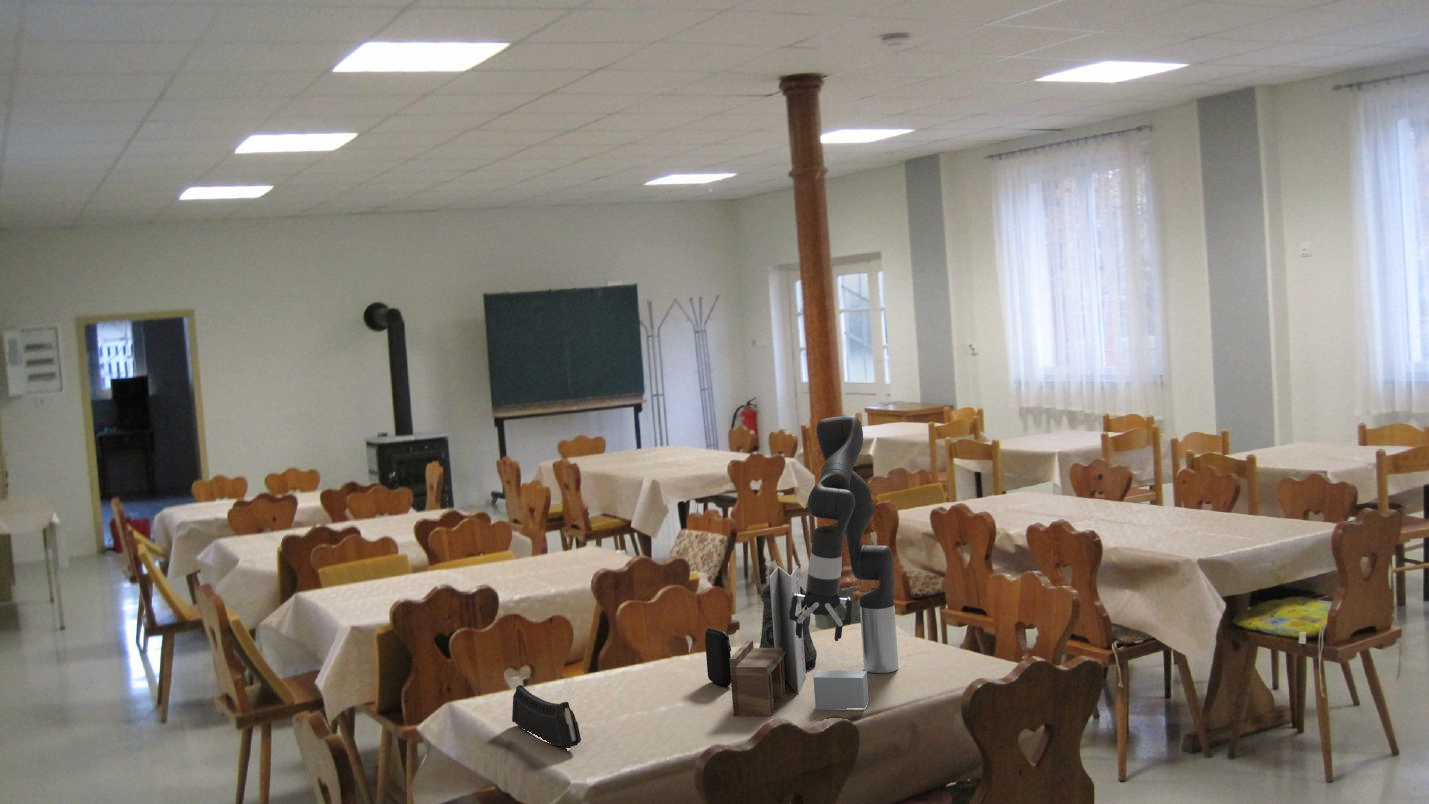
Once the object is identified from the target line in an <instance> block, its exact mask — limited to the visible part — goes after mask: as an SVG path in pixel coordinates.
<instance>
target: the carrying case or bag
mask: <svg viewBox="0 0 1429 804" xmlns="http://www.w3.org/2000/svg"><path fill="white" fill-rule="evenodd" d="M704 641H705V643H704V644H705V656H706V671H707V672H706V673H707V677H708V680H709V681H711V682H712V684H713V683H714V684H716V685H719V686H721V687H724V688H728V687H731V674H730V660H729V659H730V658H731V657H732V654H731V651H732V648H731V647H732V646H731V643H730V637H729V634H727V633H726V632H725V631H723V630H720V629H716V628H714V627H713V628H712V627H710V628H708V629H706V632H705V634H704Z"/></svg>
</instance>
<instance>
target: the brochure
mask: <svg viewBox="0 0 1429 804" xmlns="http://www.w3.org/2000/svg"><path fill="white" fill-rule="evenodd" d="M799 567H800V566H799V565H796V566H795V568H794V570H793V572H792V573H791V574H789V573H788V572H786V571H785V570H784V569H783V568H781V567H780V566H779V565H777V567H776V568H775V569H774V570H773V572H772V573H771V574H770V576H769V584H770V592H771V606H772V621H773V635H774V648H782V649H783V652H785V656H784V657H783V664H784V678H785V681H786V680H787V682H788V683H789V684H790V686H791V687H792V688H793V689H794V691H795V692H796V693H797V694H798V695H799V694H800V692H801V690H802V688H803V687H804V684H805V681H806V679H807V673H806V671H807V670H806V669H805V655H804V640H803V627H802V637H801V638H798V636H796V632H795V630H796V621H794V620H790V618H789V610H790V604H791V598H792V593H794V592H796V593H797V594H799V595H800V586H801V584H800V570H799V569H800V568H799ZM800 612H801V602H800V603H799V604H797V606H796V612H795V614H797V615H798V614H799V613H800Z"/></svg>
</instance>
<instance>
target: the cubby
mask: <svg viewBox="0 0 1429 804" xmlns="http://www.w3.org/2000/svg"><path fill="white" fill-rule="evenodd" d="M784 656H785V652H783V649H782V648H759V647H754V640H753V639H746V641H745V642H744V643H743V644H742V645H741V646H740V647H739V648H738V649H737V650H736V651H735V653H733V654H732V655H731V658H730V659H729V660H730V674H731V684H730V687H731V699H732V700H731V702H732V713H733V717H757V718H758V717H763V718H764V717H766V718H767V717H768V718H770V717H771V716H772V714H773V713H774V711H775V709H774V708H775V707H774V701H778V700H779V701H782V700H783V699H784V697H785V696H786V683H785V682H786V680H785V678H784V664H783V657H784Z"/></svg>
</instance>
